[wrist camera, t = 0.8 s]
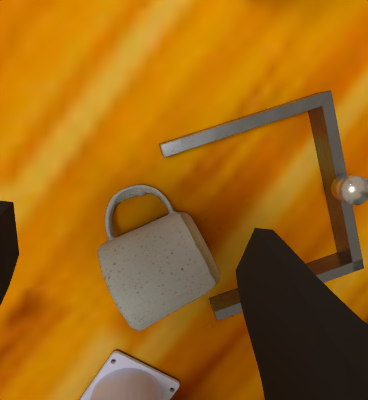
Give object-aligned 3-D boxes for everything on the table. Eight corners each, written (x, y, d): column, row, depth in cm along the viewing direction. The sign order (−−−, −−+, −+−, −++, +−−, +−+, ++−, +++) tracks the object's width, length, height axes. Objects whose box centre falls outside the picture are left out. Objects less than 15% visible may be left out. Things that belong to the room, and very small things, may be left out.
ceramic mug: (214, 262, 32) (236, 301, 25) (139, 301, 32) (138, 352, 25) (164, 166, 30) (172, 176, 22) (83, 207, 30) (64, 232, 22)
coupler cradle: (211, 306, 33) (222, 334, 29) (158, 143, 29) (162, 146, 25) (354, 255, 34) (385, 274, 30) (322, 91, 30) (353, 84, 26)
